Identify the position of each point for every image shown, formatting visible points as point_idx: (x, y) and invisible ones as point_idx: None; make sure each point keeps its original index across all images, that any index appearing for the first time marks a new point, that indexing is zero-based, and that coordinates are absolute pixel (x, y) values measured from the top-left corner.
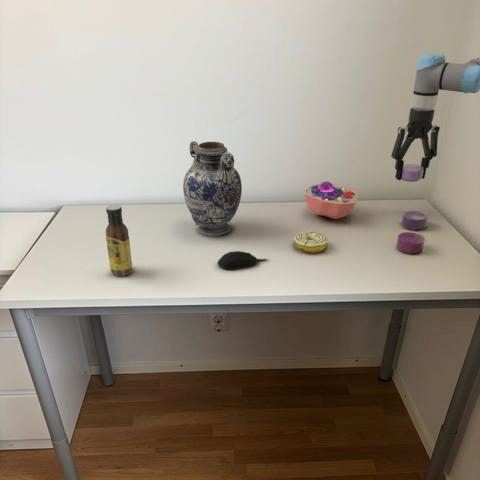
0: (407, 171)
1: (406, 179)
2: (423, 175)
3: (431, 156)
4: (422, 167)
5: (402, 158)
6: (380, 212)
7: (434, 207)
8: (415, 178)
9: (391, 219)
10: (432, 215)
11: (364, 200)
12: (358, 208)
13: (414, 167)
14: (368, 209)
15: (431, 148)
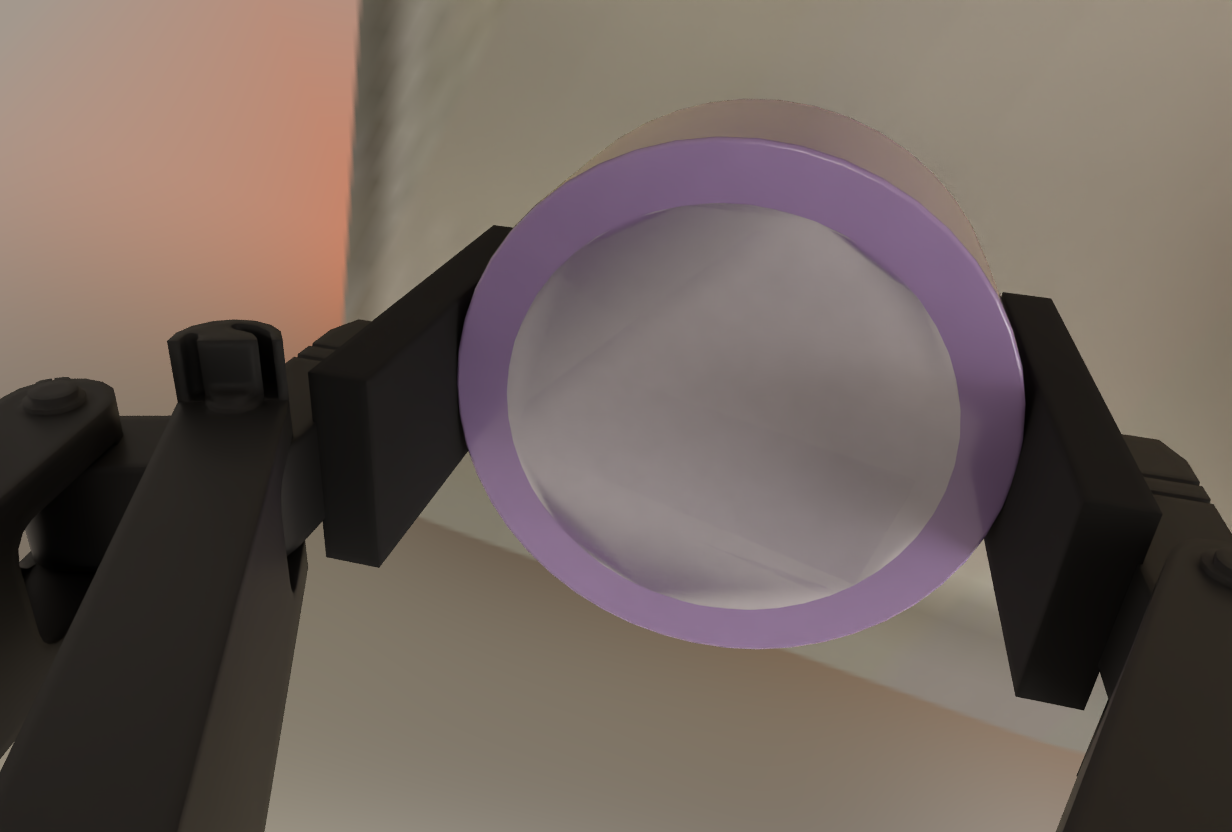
0: (975, 261)
1: (953, 197)
2: None
3: (178, 402)
4: (485, 340)
5: (1174, 577)
6: (1049, 280)
7: (368, 212)
8: (787, 107)
9: (1072, 32)
10: (494, 5)
11: (987, 615)
12: (1224, 467)
13: (664, 401)
14: (1127, 403)
15: (33, 629)
